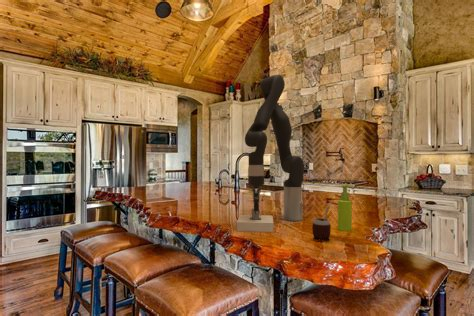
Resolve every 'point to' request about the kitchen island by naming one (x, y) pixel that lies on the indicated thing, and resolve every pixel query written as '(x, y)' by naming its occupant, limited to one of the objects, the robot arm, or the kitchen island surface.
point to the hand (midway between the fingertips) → (256, 209)
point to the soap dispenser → (345, 211)
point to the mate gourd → (321, 228)
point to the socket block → (255, 223)
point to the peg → (255, 215)
